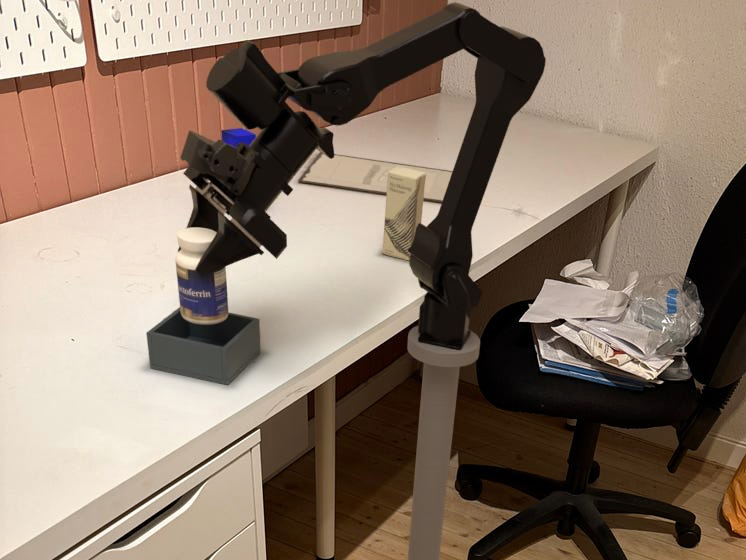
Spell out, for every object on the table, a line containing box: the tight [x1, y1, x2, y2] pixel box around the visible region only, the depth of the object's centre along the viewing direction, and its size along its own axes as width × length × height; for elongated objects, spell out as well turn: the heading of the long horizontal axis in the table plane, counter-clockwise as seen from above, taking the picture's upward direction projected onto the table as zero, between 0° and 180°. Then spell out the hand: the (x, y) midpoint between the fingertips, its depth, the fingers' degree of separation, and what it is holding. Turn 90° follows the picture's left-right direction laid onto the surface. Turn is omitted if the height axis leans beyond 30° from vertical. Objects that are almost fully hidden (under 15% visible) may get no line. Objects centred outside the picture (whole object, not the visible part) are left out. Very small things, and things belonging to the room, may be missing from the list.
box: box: [382, 166, 426, 261], centre depth 154 cm, size 5×4×13 cm
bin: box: [146, 306, 261, 386], centre depth 120 cm, size 10×10×5 cm
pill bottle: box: [175, 227, 229, 325], centre depth 114 cm, size 6×6×10 cm
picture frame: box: [297, 151, 453, 203], centre depth 189 cm, size 22×1×30 cm
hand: (189, 264), depth 113 cm, fingers closed on pill bottle, 6 cm apart
